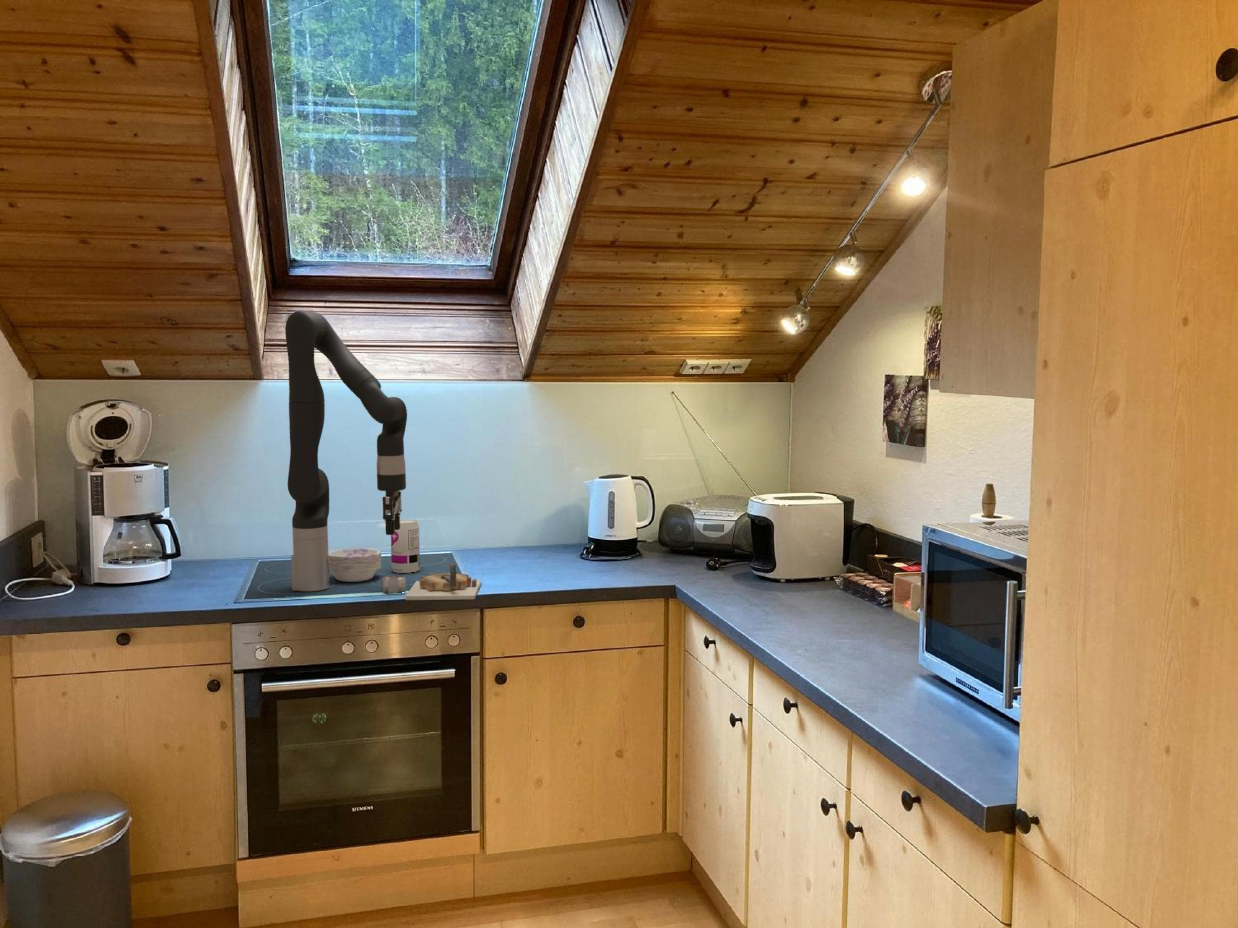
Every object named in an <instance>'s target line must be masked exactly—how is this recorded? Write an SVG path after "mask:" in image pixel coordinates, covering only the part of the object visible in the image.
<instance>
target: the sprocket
mask: <svg viewBox="0 0 1238 928" xmlns="http://www.w3.org/2000/svg"><path fill="white" fill-rule="evenodd" d="M471 580H472V577H471V576H469V574H465V573H463V574H461V573H457V564H450V565H449V573H432V574H430V575H427V576H426V575H423V576H421V577H420V579H419V580H418V581H420V588H426V589H427V590H431V591H433V590H444V591H450V590H453V589H464V588H466V586H471Z"/></svg>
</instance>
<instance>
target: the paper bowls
mask: <svg viewBox="0 0 1238 928" xmlns="http://www.w3.org/2000/svg"><path fill="white" fill-rule="evenodd" d="M328 556H329V573H332V574H333V575H334V578H335V579H336V580H337V581H340V582H344V583H345V582H346V583H350V582H351V583H354V582H355V583H358V582H364V581H368V580H371V579H372V578H373V577H374V576H375V574H376V571H378V570H380V569H382V552H381V550H379V549H373V548H345V549H344V548H342V549H337V550H331V551H328Z"/></svg>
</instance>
